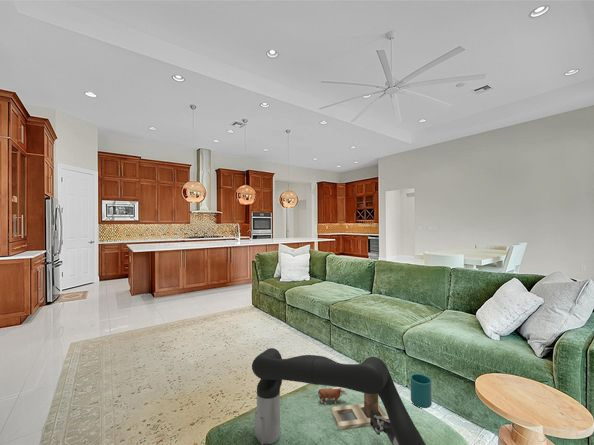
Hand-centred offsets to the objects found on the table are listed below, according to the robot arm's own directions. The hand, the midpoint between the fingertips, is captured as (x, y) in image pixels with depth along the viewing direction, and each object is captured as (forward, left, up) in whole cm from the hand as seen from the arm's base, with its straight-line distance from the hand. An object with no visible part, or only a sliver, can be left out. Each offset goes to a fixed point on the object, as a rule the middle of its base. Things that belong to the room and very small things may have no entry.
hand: (381, 410), depth 110 cm
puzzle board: (0, +12, -10) cm, 15 cm away
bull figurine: (-3, +26, -10) cm, 28 cm away
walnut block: (+5, +9, -9) cm, 14 cm away
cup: (+33, +4, -10) cm, 35 cm away
